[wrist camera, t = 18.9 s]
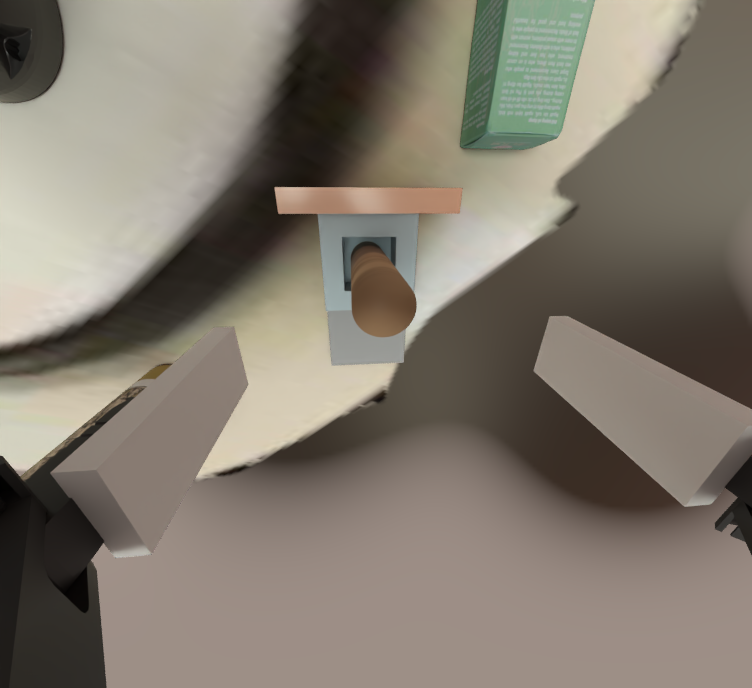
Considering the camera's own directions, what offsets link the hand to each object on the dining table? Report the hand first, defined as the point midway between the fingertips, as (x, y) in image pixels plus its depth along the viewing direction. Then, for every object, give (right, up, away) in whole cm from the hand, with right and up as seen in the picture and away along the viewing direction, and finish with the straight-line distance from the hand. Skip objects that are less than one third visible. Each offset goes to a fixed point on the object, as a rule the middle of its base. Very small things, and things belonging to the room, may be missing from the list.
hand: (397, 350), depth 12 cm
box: (+12, +28, +17) cm, 35 cm away
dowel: (-2, +10, +21) cm, 24 cm away
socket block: (-2, +12, +24) cm, 27 cm away
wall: (-2, +17, +21) cm, 27 cm away
